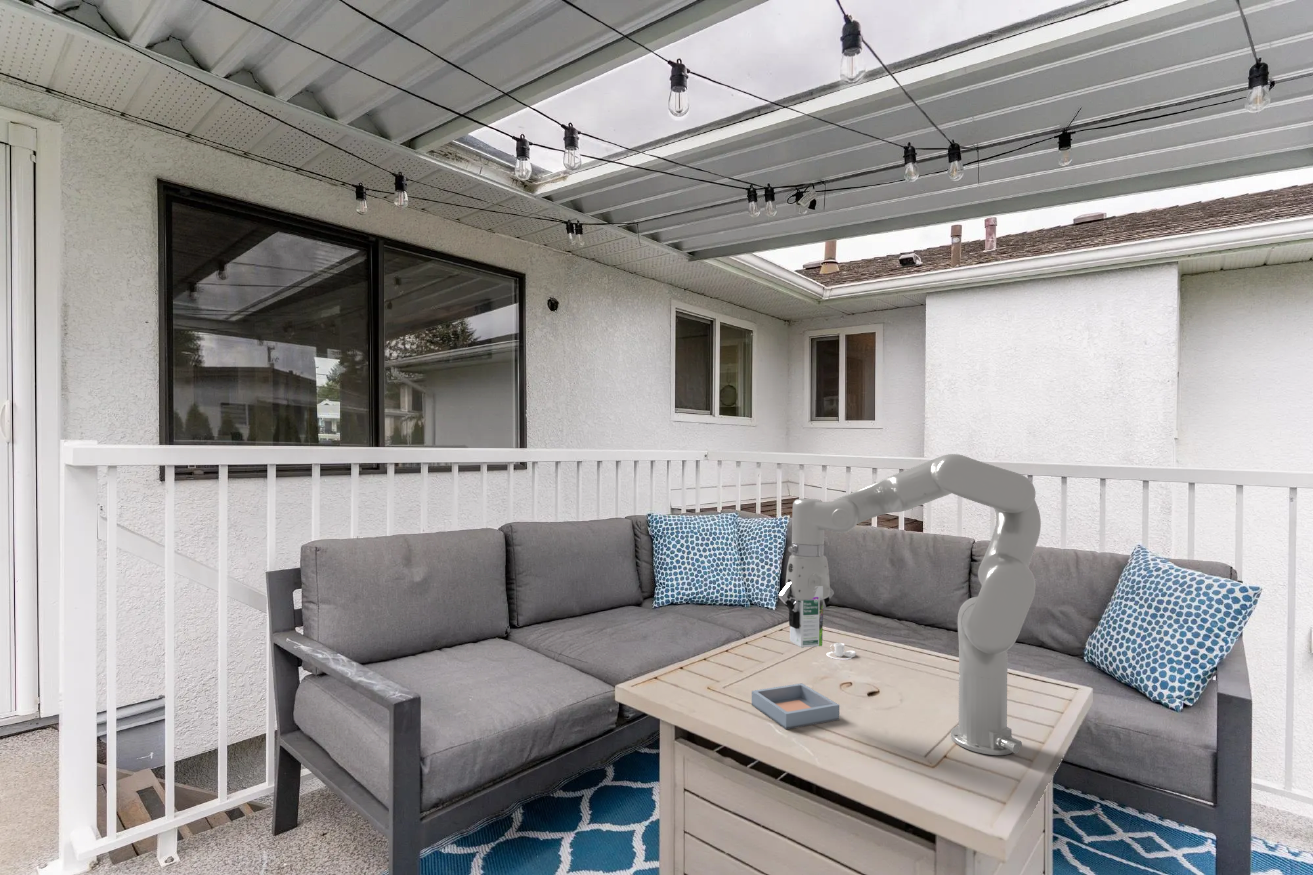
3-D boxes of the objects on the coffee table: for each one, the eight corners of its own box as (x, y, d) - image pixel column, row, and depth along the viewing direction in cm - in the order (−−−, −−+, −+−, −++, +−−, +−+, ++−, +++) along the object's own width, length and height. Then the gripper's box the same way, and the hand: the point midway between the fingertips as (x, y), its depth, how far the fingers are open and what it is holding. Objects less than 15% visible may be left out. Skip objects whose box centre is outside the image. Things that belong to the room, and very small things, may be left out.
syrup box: (801, 648, 149) (802, 586, 149) (788, 640, 155) (790, 580, 155) (822, 646, 151) (824, 585, 151) (809, 639, 156) (811, 579, 156)
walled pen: (839, 719, 151) (839, 704, 152) (785, 729, 146) (786, 714, 146) (801, 696, 165) (801, 683, 165) (751, 704, 160) (751, 690, 160)
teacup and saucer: (858, 656, 200) (858, 643, 200) (851, 663, 193) (851, 649, 193) (830, 651, 205) (830, 638, 205) (822, 657, 198) (822, 644, 198)
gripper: (786, 554, 146) (785, 633, 146) (846, 551, 153) (845, 626, 153) (768, 549, 153) (766, 625, 153) (826, 546, 160) (824, 618, 160)
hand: (805, 625), depth 153 cm, fingers closed on syrup box, 6 cm apart
